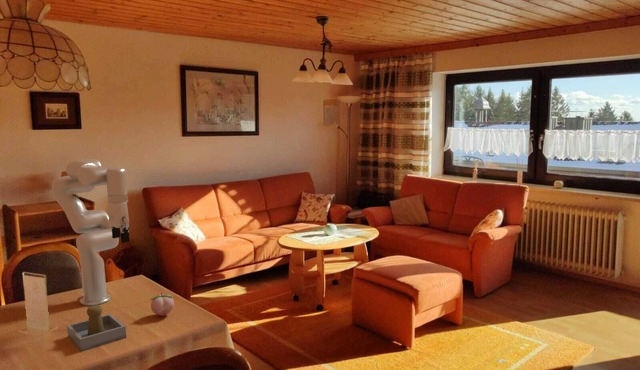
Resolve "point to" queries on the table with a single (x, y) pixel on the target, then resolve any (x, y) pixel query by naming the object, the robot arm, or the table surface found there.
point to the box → (111, 333)
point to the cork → (95, 320)
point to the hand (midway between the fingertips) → (120, 239)
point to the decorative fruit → (162, 304)
